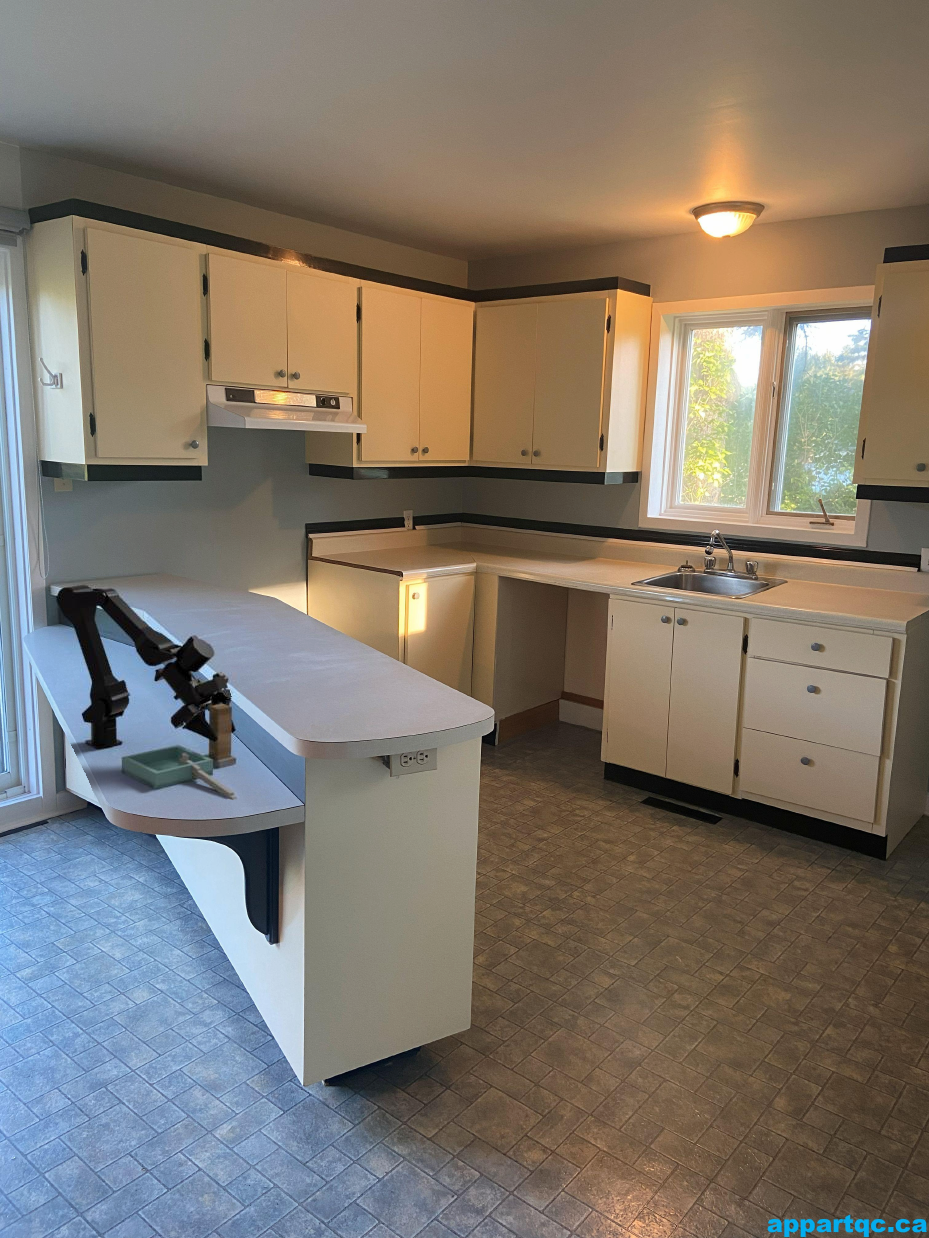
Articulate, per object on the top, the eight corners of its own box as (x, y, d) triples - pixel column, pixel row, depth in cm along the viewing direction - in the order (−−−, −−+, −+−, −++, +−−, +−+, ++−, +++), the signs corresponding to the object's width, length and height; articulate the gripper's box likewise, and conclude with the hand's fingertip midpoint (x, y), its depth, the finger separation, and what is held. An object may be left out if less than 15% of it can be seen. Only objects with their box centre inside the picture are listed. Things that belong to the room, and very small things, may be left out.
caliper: (178, 779, 198) (177, 752, 197) (182, 778, 198) (182, 751, 198) (233, 801, 185) (233, 772, 184) (237, 800, 186) (237, 771, 185)
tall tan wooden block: (203, 761, 207) (204, 705, 205) (219, 757, 210) (220, 702, 208) (219, 767, 203) (220, 711, 201) (235, 763, 206) (236, 707, 204)
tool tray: (121, 772, 197) (121, 757, 196) (177, 759, 207) (177, 744, 207) (156, 789, 188) (156, 773, 187) (212, 774, 198) (213, 759, 198)
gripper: (182, 670, 195) (226, 725, 194) (227, 655, 213) (267, 706, 212) (151, 701, 198) (194, 755, 197) (198, 683, 216) (237, 733, 215)
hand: (225, 736), depth 205 cm, fingers open, 7 cm apart
